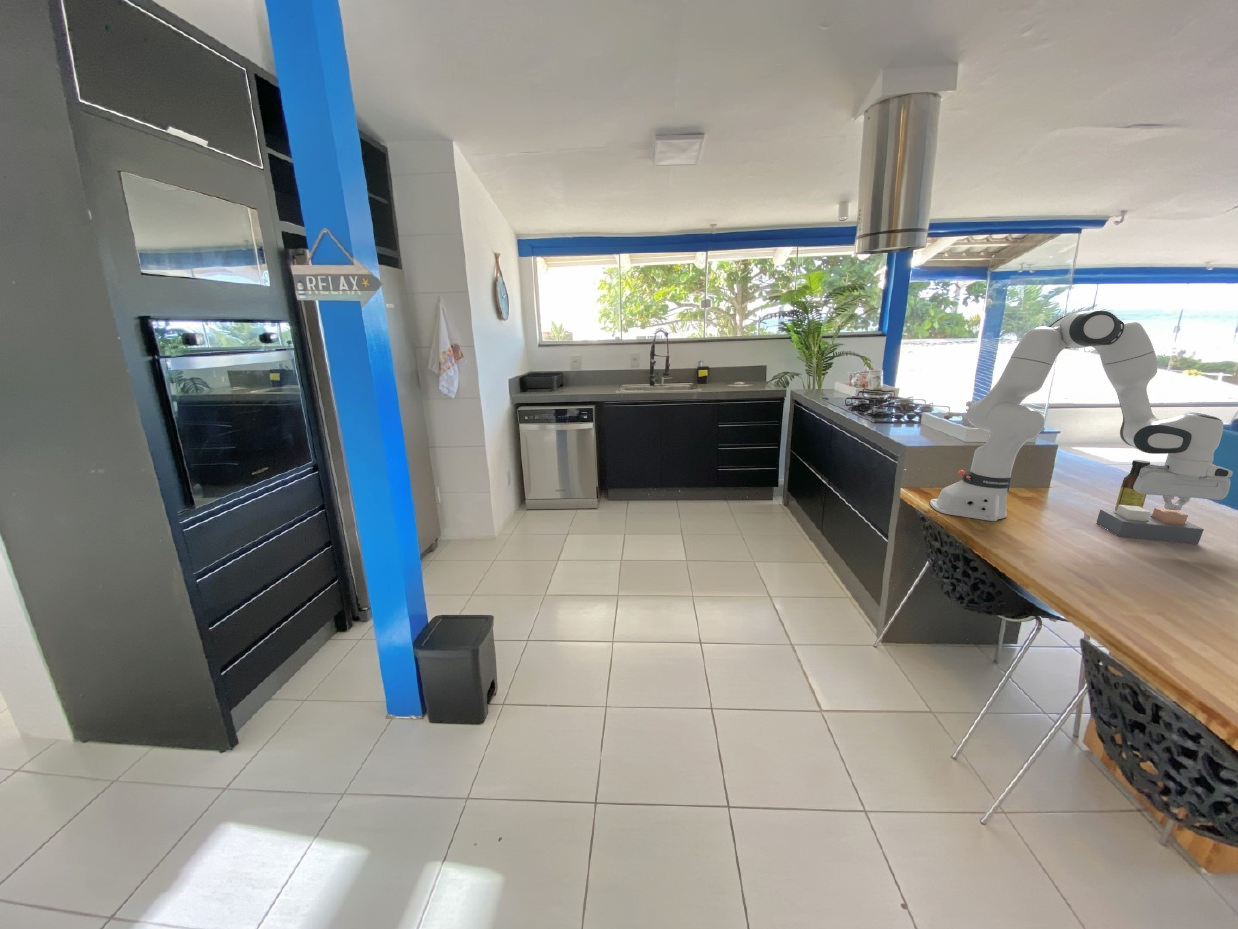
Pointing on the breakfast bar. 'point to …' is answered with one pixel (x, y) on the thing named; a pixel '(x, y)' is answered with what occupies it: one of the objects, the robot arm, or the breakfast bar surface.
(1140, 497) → the sauce bottle
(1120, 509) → the cream key
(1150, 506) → the breakfast bar surface
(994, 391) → the robot arm
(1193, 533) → the keypad
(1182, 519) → the terracotta key
